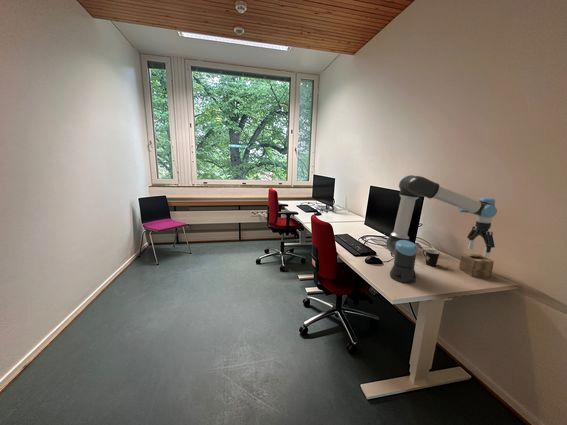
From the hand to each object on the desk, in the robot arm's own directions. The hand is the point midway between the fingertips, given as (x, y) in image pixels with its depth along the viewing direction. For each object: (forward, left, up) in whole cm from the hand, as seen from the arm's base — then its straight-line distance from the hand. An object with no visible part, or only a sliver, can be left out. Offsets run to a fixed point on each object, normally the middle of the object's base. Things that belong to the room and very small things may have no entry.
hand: (477, 252), depth 154 cm
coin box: (0, 0, -14) cm, 14 cm away
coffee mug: (-22, +13, -14) cm, 29 cm away
